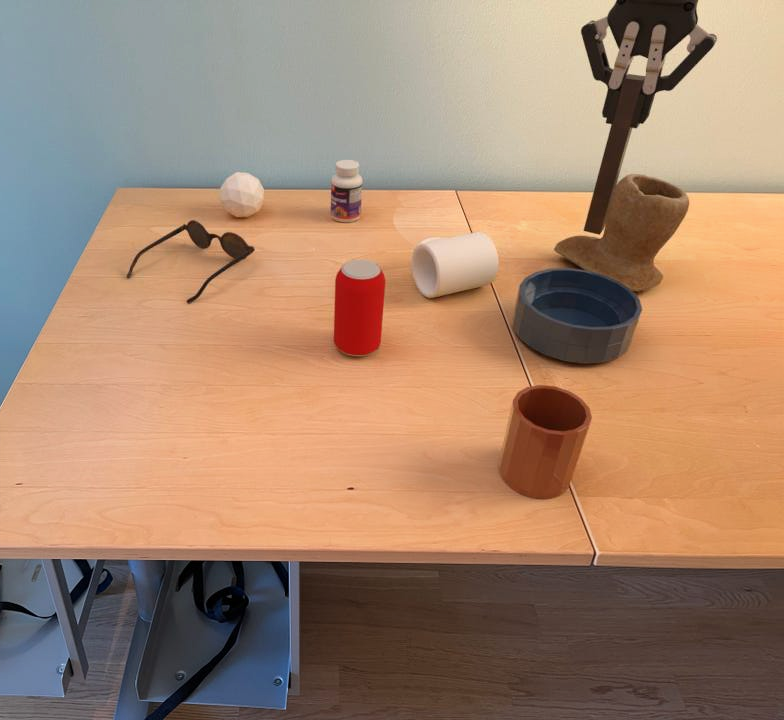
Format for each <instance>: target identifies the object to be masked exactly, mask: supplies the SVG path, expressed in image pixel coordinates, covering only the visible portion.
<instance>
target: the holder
mask: <svg viewBox="0 0 784 720" xmlns="http://www.w3.org/2000/svg"><path fill="white" fill-rule="evenodd" d="M511 402H512V403H511V407H510V411H509V416H508V419H507V424H506V429H505V433H504V437H503V442H502V446H501V450H500V455H499V459H498V473H499V475H500V477H501V479H502V480H503V482H504V483H505V485H507V486H508V487H509V488H511V489H512V490H513V491H515V492H517V493H518V494H521V495H523V496H524V497H528V498H532V499H538V500H547V499H553V498H558V497H560V496H562V495H563V494H564V493H566V492H567V490H568V489H569V488H570V485H571V482H572V480H573V477H574V476H575V475H574V474H575V471H576V468H577V466H578V462H579V459H580V456H581V453H582V450H583V447H584V444H585V441H586V438H587V435H588V432H589V428H590V426H591V423H592V419H593V417H592V413H591V409H590V407H589V405H587V404H588V403H586V402H585V401H584V399H582V398H581V397H580V396H578V395H576V394H575V393H573V392H572V391H570V390H567V389H564V388H562V387H559V386H555V385H546V384H545V385H544V384H537V385H531V386H527V387H524V388H523V389H521V390H519V391H517V393H516V394H515V396H514V398H513V399H512V401H511Z"/></svg>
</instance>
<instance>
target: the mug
mask: <svg viewBox="0 0 784 720" xmlns="http://www.w3.org/2000/svg"><path fill="white" fill-rule="evenodd" d="M410 264H411V273H412V278H413V282H414V284H415V286H416V288H417V290H418V291H419V292H420V294H421V295H423V297H425V298H428V299H433V298H438V297H442V296H448V295H451V294H455V293H459V292H464V291H468V290H472V289H476V288H481V287H486V286H489V285H491V284H492V283H493V282H494V281H495V279H497V278H496V277H497V276H498V273H499V255H498V250H497V248H496V246H495V243H494V241H493V240H492V238H491V237H490V236H489V235H488V234H486V233H485V232H482V231H476V232H471V233H466V234H461V235H456V236H452V237H446V238H445V237H437V236H436V237H435V236H434V237H427V238H424V239H423V240H421V241H419V242H418V243H417V244H416V245H415V246H414V248H413V252H412V255H411V263H410Z"/></svg>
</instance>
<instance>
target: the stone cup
mask: <svg viewBox="0 0 784 720" xmlns="http://www.w3.org/2000/svg"><path fill="white" fill-rule="evenodd" d="M689 207H690V198H689V196H688V194H687V193H686V191H684V189H682V188H680V187H679V186H678V185H675V184H673V183H671V182H668V181H666V180H664V179H661V178H657V177H654V176H649V175H645V174H640V173H630V174H627V175H625V176H624V177H623V178H621V179H620V180H619V181H617V184H616V188H615V191H614V195H613V198H612V202H611V205H610V209H609V212H608V216H607V220H606V223H605V227H604V229H603V234H602V237H597V236H589V235H582V234H581V235H572V236H570V237H566V238H564V239H562V240H561V241H558V242H557V243H556V244H555V246H554V248H553V250H554V252H556V253H557V254H559V255H560V256H562V257H563V258H565V259H567V260H568V261H569V262H571V263H573V264H574V265H576V266H578V267H579V268H581V269H582V270H586V271H590V272H594V273H598V274H602V275H605V276H607V277H609V278H612V279H614V280H616V281H619V282H620V283H622V284H623V285H625V286H626V287H628V288H629V289H631V290H632V291H633V292H641V291H642V292H643V291H647V290H650V289H653V288H655V287H657V286H659V285H660V284H661V283H662V281H663V279H664V274H662V272H661V271H660V270H659V269H658V268H657V267H656V266H655V264H654V262H655V258H656V256H657V255H658V253H660V250H661V249H662V248H663V247H664V246H665V245H666V244H667V243H668V242H669V241H670V240H671V238H672V237H673V235H675V233H676V232H677V231H678V229H679V227H680V225H681V224H682V223H683V221H684V219H685V217H686V215H687V213H688V211H689Z"/></svg>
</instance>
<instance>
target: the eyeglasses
mask: <svg viewBox="0 0 784 720" xmlns="http://www.w3.org/2000/svg"><path fill="white" fill-rule="evenodd" d="M184 231H186V232H187V234H188V236H189V238H190V240H191V241H192V242H193V244H194V245H196V246H197V247H198V248H200V249H203V250H206V249H209V248H210V246H211V244H212V241H213V240H214V239H217V240H218V242H219V243H220V244H219V245H220V247H221V249H222V251H224V253H226V255H228V256H229V257H230V258H232V259H233V260H231V261H230V262H228V263H227V264H225V265H224V266H222V267H221V268H220V269H218V270H217V271H215V272H214V273H213V274H211V275H210V276H209V277H208V278H207V279H206V280H205V281H204V282H203V284H201V287H200V288H199V290H198V291H197V293H195V294H194V295H193V296H192V297H189V298H188V299H187V300H186V303H187V304H191V303H193V302H195V301H196V300H198V298H199V297H200V296H201V295H202V294H203V292H204V291H205V289H206V287H207V286H208V285H209V284H210V282H212V280H213V279H215V278H217V277H218V276H219V275H221V274H223V273H224V272H226V271H227V270H229V269H230V268H231V267H233V266H234V265H236V264H238V263H240V262H241V261H243V260H245V259H247V257H249V256H250V255H251V254H253V253H254V252H255V250H256V249H255V246H253V245H249V244H248V243H247V241H246V240H245V239H244V238H242V236H240V235H239V234H238V233H235V232H231V231H227V232H224V233H223V234H222V235H221V236H220V235H218V234H217V233H209V232H208V231H207V229H206V228H205V227H204V225H203V224H202V223H200V222H199V221H197V220H194V219H191V220H189V221H188V222H187V224H185V223H184V224H183V225H181V226H179V227H177V228H176V229H174V230H172V231H171V232H169V233H167V234H165V235H164V236H162V237H160V238H159V239H157V240H155V241H153V242H152V243H151V244H148V245H147V246H145V247H144V248H143V249H141V250H140V251H139V252H138V253H137V254H136V255H135V256H134V258H133V260H132V261H131V264H130V267H129V270H128V272H127V274H126V279H130V278H131V276H132V274H133V271H134V268H135V266H136V264H137V263H138V261H139V259H140V257H141V256H142V255H143V254H144V253H146V252H148V251H150V250H151V249H153V248H155V247H157V246H159V245H160V244H162V243H164V242H165V241H167V240H169V239H171V238H173V237H175V236H177V235H178V234H181V233H182V232H184Z"/></svg>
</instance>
